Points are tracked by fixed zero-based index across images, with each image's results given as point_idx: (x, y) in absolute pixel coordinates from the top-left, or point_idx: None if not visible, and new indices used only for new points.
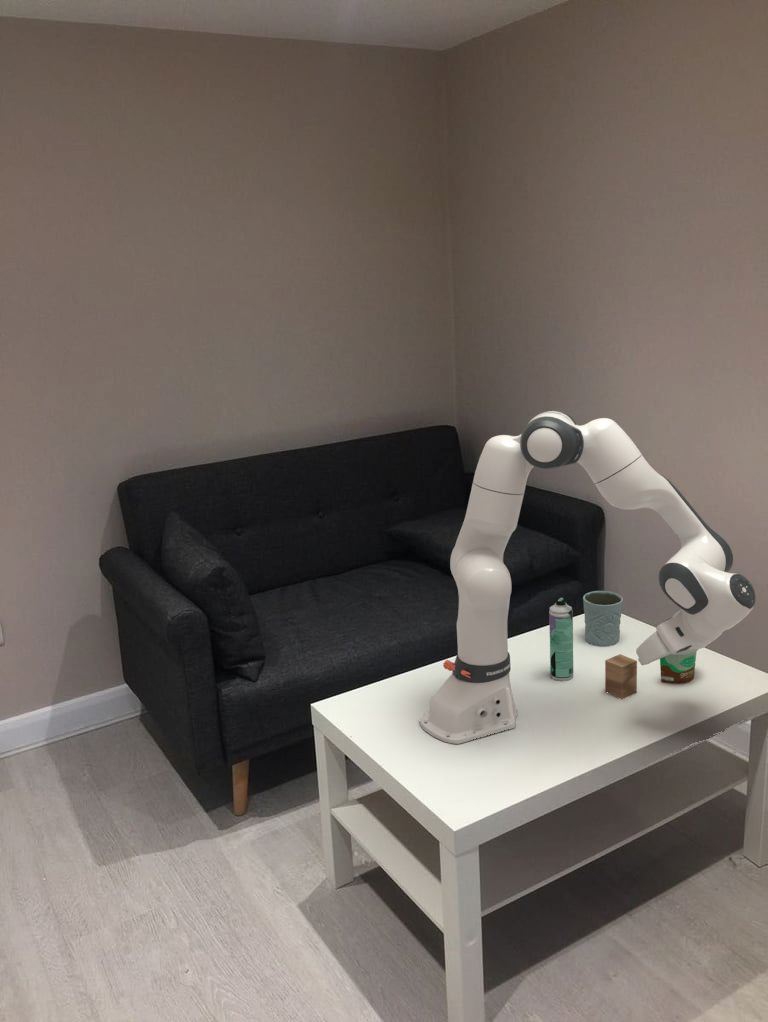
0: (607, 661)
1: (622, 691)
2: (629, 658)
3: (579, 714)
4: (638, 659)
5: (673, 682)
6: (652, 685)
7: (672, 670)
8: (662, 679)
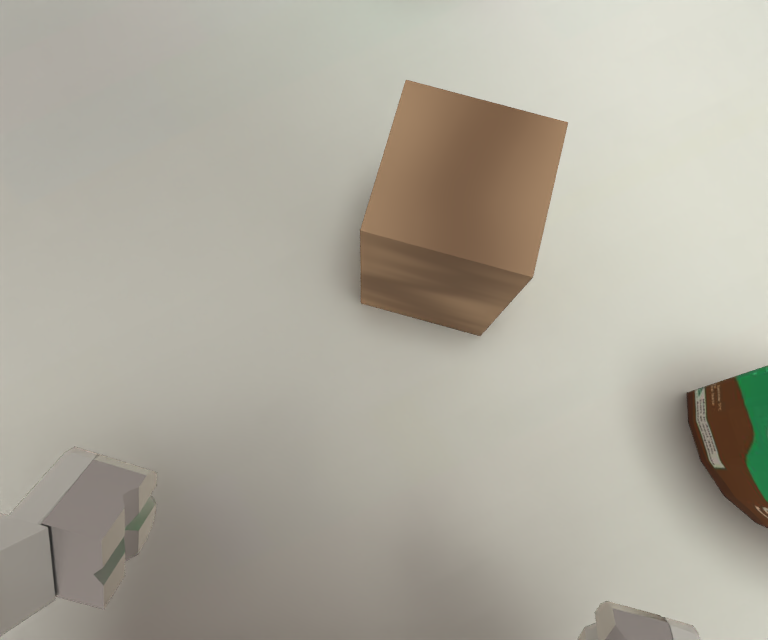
0: (400, 100)
1: (365, 291)
2: (538, 211)
3: (85, 196)
4: (73, 451)
5: (709, 466)
6: (611, 372)
7: (748, 462)
8: (694, 399)
